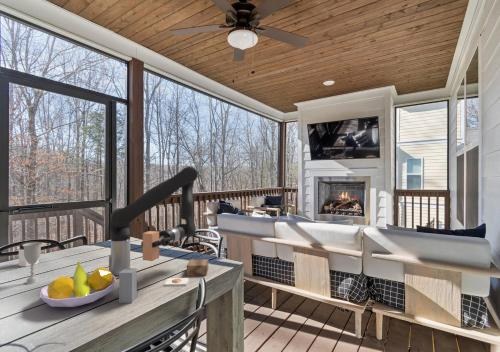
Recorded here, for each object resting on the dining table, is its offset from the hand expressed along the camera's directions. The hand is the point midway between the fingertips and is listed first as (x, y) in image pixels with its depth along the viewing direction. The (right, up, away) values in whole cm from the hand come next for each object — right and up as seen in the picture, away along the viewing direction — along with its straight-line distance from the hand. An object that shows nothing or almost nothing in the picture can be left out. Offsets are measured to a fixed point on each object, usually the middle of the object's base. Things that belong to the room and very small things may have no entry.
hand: (147, 244), depth 120 cm
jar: (-80, -20, +33) cm, 89 cm away
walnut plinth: (+18, -20, +22) cm, 35 cm away
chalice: (-57, -20, +8) cm, 61 cm away
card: (+11, -20, +8) cm, 24 cm away
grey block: (-4, -20, -10) cm, 23 cm away
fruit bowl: (-24, -20, -8) cm, 32 cm away
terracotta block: (+1, -7, +3) cm, 7 cm away
